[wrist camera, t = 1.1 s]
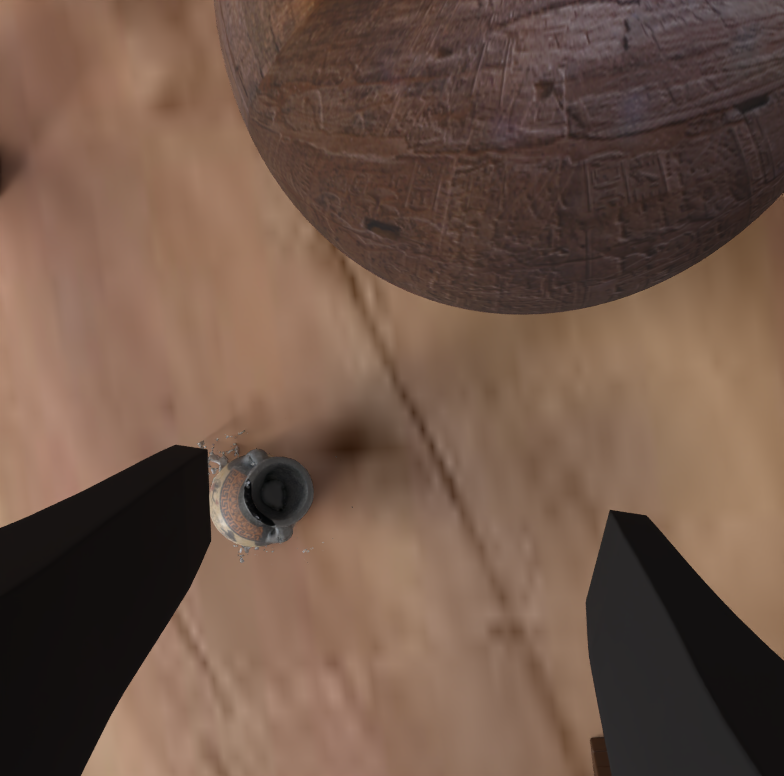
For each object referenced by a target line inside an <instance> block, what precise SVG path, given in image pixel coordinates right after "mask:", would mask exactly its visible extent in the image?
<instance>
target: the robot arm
mask: <svg viewBox="0 0 784 776" xmlns="http://www.w3.org/2000/svg"><path fill="white" fill-rule="evenodd" d="M210 542H211V523H210V499H209V474H208V450H207V449H201V448H194V447H187V446H181V445H174V446H172V447H169V448H167V449H165V450H163V451H160V452H158V453H156V454H154V455H152V456H150V457H148V458H146V459H144V460H142V461H140V462H139V463H137V464H135V465H133V466H131V467H129V468H127V469H125V470H123V471H121V472H119V473H117V474H115V475H113V476H111V477H109V478H108V479H106V480H104V481H102V482H100V483H98V484H96V485H94V486H92V487H90V488H88V489H86V490H84V491H82V492H80V493H78V494H76V495H74V496H71V497H69V498H67V499H65V500H63V501H61V502H58V503H56V504H54V505H52V506H50V507H48V508H45V509H43V510H41V511H39V512H37V513H35V514H32V515H30V516H28V517H26V518H23V519H21V520H19V521H16V522H14V523H11V524H9V525H6V526H4V527H1V528H0V776H81V774H82V772H83V770H84V768H85V766H86V764H87V762H88V760H89V758H90V756H91V754H92V752H93V750H94V748H95V746H96V744H97V742H98V740H99V738H100V736H101V734H102V732H103V730H104V728H105V726H106V724H107V722H108V720H109V718H110V716H111V714H112V712H113V711H114V709H115V707H116V706H117V704H118V702H119V700H120V699H121V697H122V695H123V693H124V692H125V690H126V688H127V687H128V685H129V684H130V682H131V681H132V679H133V677H134V676H135V674H136V673H137V671H138V669H139V668H140V666H141V665H142V663H143V662H144V660H145V658H146V657H147V655H148V654H149V652H150V651H151V649H152V647H153V646H154V644H155V643H156V641H157V640H158V638H159V636H160V635H161V633H162V632H163V630H164V629H165V627H166V625H167V624H168V622H169V621H170V619H171V617H172V616H173V614H174V613H175V611H176V609H177V608H178V606H179V605H180V603H181V601H182V600H183V598H184V596H185V595H186V593H187V592H188V590H189V588H190V586H191V584H192V582H193V580H194V578H195V576H196V574H197V572H198V569H199V567H200V565H201V563H202V560H203V558H204V556H205V554H206V551H207V549H208V547H209V544H210ZM586 617H587V636H588V650H589V659H590V665H591V670H592V676H593V681H594V686H595V692H596V697H597V702H598V708H599V713H600V718H601V723H602V728H603V733H604V739H605V744H606V749H607V754H608V759H609V764H610V770H611V775H612V776H784V661H783V660H782V659H781V658H780V657H779V656H778V655H777V654H776V653H775V652H774V651H772V650H771V649H770V648H769V647H768V646H767V645H766V644H765V643H764V642H763V641H762V640H761V639H760V638H759V637H758V636H757V635H756V634H755V633H754V632H753V631H752V630H751V629H750V628H749V627H748V626H747V625H745V624H744V623H743V622H742V621H741V620H740V619H739V618H738V617H737V616H736V615H735V614H734V613H733V612H732V610H731V609H730V608H729V607H728V606H727V605H726V604H725V603H724V602H723V601H722V600H721V599H720V598H719V597H718V596H717V595H716V594H715V593H714V592H713V590H712V589H711V588H710V587H709V586H708V585H707V584H706V583H705V582H704V581H703V579H702V578H701V577H700V576H699V575H698V574H697V573H696V572H695V570H694V569H693V568H692V567H691V566H690V565H689V564H688V563H687V561H686V560H685V559H684V558H683V557H682V556H681V554H680V553H679V552H678V551H677V550H676V549H675V547H674V546H673V545H672V544H671V543H670V542H669V540H668V539H667V538H666V537H665V536H664V535H663V533H662V532H661V531H660V530H659V529H658V528H657V527H656V525H655V524H654V523H653V522H652V521H651V520H650V519H649V518H648V517H647V516H646V515H640V514H634V513H627V512H620V511H614V510H610V511H609V515H608V519H607V523H606V527H605V530H604V534H603V538H602V542H601V546H600V549H599V553H598V557H597V561H596V565H595V569H594V572H593V576H592V580H591V584H590V588H589V591H588V595H587V599H586Z"/></svg>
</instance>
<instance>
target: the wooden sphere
mask: <svg viewBox="0 0 784 776" xmlns="http://www.w3.org/2000/svg"><path fill="white" fill-rule="evenodd" d="M214 6H215V14H216V22H217V29H218V34H219V40H220V45H221V50H222V54H223V58H224V63H225V67H226V71H227V74H228V78H229V81H230V84H231V87H232V91H233V94H234V97H235V99H236V102H237V105H238V107H239V110H240V113H241V115H242V118H243V120H244V122H245V124H246V127H247V129H248V131H249V134H250V136H251V138H252V140H253V142H254V144H255V145H256V147H257V149H258V151H259V153H260V155H261V157H262V158H263V160H264V162H265V164H266V165H267V167H268V169H269V170H270V172H271V173H272V175H273V176H274V178H275V179H276V181H277V182H278V184H279V185H280V187H281V188H282V190H283V191H284V192H285V194H286V195H287V196H288V198H289V199H290V200H291V202H292V203H293V204H294V205H295V206H296V208H297V209H298V210H299V211H300V212H301V213H302V215H303V216H304V217H305V218H306V219H307V220H308V221H309V222H310V223H311V224H312V225H313V226H314V227H315V228H316V229H317V230H318V231H319V232H320V233H321V234H322V235H323V236H324V237H325V238H326V239H327V240H328V241H330V242H331V243H332V244H333V245H334V246H335V247H336V248H338V249H339V250H340V251H341V252H343V253H344V254H345V255H346V256H348V257H349V258H351V259H352V260H353V261H355V262H356V263H358V264H359V265H361V266H362V267H363V268H365V269H367V270H368V271H370V272H372V273H373V274H375V275H377V276H378V277H380V278H382V279H384V280H386V281H387V282H389V283H391V284H393V285H395V286H397V287H399V288H402V289H404V290H406V291H409V292H411V293H413V294H416V295H418V296H421V297H424V298H427V299H429V300H432V301H436V302H439V303H443V304H446V305H450V306H454V307H459V308H463V309H468V310H474V311H480V312H488V313H499V314H545V313H556V312H564V311H570V310H577V309H582V308H586V307H591V306H596V305H599V304H603V303H607V302H610V301H614V300H617V299H620V298H623V297H626V296H629V295H632V294H634V293H637V292H640V291H642V290H645V289H647V288H650V287H652V286H654V285H656V284H658V283H661V282H663V281H665V280H667V279H669V278H671V277H673V276H675V275H677V274H679V273H681V272H682V271H684V270H686V269H688V268H689V267H691V266H693V265H694V264H696V263H698V262H699V261H701V260H703V259H704V258H706V257H707V256H709V255H710V254H712V253H713V252H715V251H716V250H718V249H719V248H720V247H722V246H723V245H725V244H726V243H727V242H729V241H730V240H731V239H733V238H734V237H735V236H736V235H738V234H739V233H740V232H741V231H743V230H744V229H745V228H746V227H747V226H749V225H750V224H751V223H752V222H753V221H754V220H755V219H757V218H758V217H759V216H760V215H761V214H762V213H763V212H764V211H765V210H766V209H767V208H768V207H769V206H770V205H772V204H773V203H774V202H775V200H776V199H777V198H778V197H779V196H780V195H781V194H782V193H783V192H784V0H214Z"/></svg>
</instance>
